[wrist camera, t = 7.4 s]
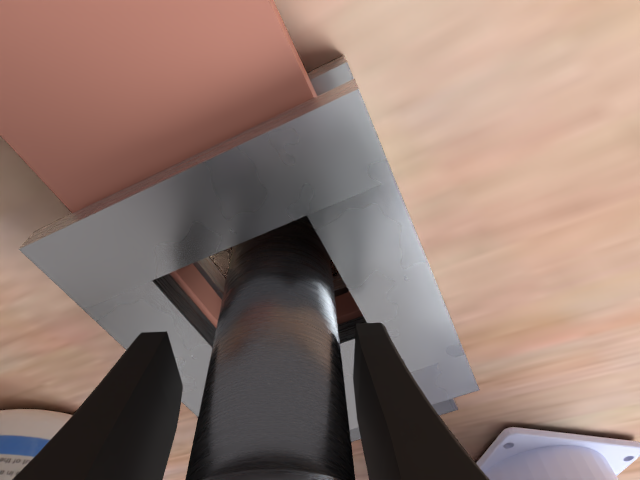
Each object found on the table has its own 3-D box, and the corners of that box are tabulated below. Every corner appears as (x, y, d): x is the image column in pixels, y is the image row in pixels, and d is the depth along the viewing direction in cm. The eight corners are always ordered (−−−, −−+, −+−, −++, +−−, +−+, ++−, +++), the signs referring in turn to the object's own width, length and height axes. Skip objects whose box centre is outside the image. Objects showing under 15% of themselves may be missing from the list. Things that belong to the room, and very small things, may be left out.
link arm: (403, 278, 16) (417, 319, 14) (236, 340, 17) (230, 384, 16) (46, -507, 7) (-39, -660, 5) (-248, -242, 8) (-394, -291, 6)
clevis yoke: (463, 352, 18) (491, 421, 16) (274, 414, 20) (270, 485, 18) (344, 54, 12) (358, 88, 9) (73, 188, 13) (18, 249, 11)
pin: (318, 285, 16) (342, 621, 8) (215, 263, 15) (129, 610, 7) (355, 198, 14) (432, 530, 6) (238, 167, 13) (153, 501, 5)
